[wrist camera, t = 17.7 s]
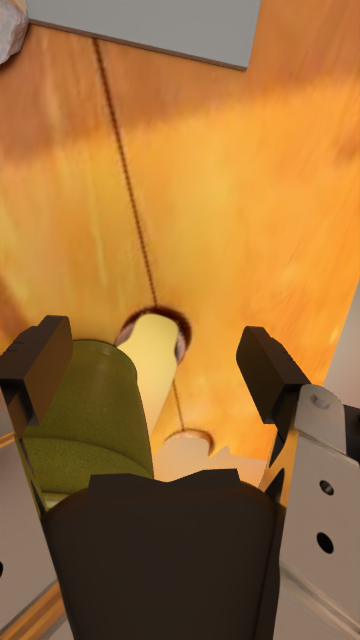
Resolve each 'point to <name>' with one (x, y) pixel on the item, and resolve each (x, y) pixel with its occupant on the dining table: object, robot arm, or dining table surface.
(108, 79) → the dining table surface
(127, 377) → the plant pot
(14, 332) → the dining table surface
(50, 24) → the arena
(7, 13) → the stone block
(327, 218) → the dining table surface
